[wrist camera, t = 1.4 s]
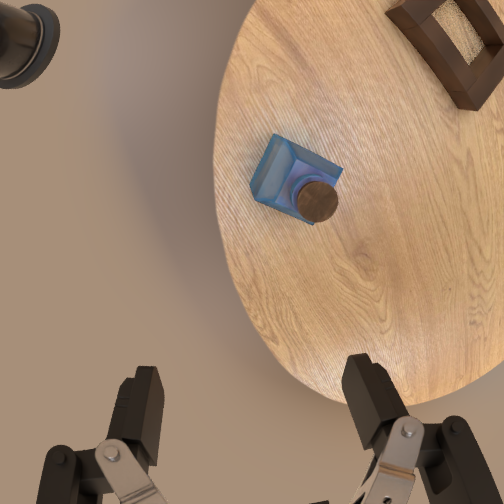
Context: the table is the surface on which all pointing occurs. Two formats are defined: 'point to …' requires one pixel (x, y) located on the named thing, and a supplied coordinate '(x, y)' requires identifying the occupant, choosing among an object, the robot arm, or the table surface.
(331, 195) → the perfume bottle
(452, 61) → the holder
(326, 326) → the table surface
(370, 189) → the table surface
